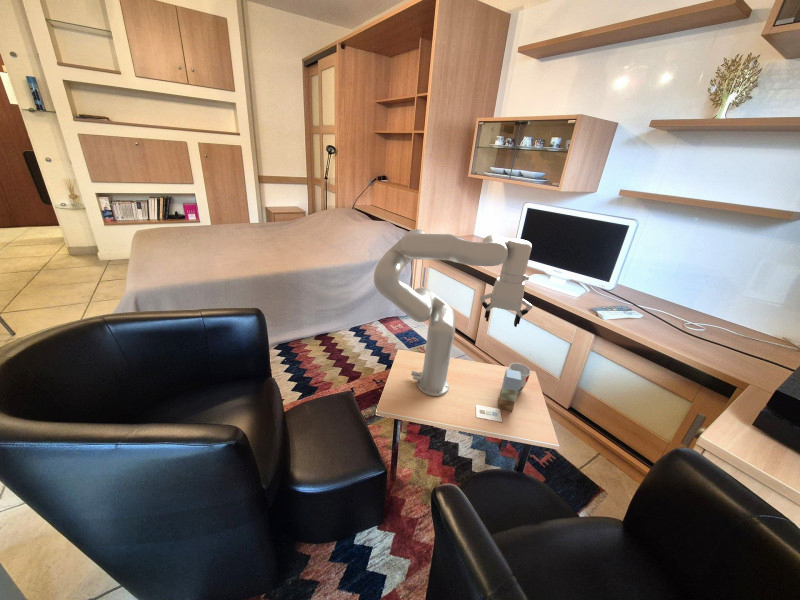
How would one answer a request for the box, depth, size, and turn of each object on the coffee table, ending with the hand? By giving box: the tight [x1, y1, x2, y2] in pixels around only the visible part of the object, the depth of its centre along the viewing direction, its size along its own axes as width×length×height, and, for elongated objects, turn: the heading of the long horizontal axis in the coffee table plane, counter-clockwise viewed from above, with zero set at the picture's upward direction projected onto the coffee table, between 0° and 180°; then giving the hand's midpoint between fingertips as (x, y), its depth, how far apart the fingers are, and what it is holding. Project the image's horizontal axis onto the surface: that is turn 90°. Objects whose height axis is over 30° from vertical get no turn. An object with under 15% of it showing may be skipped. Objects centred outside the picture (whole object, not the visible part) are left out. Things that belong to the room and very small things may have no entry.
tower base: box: [497, 383, 519, 413], centre depth 122 cm, size 5×5×10 cm
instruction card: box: [475, 404, 503, 423], centre depth 120 cm, size 9×6×1 cm
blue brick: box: [502, 368, 521, 391], centre depth 119 cm, size 5×5×5 cm
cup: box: [508, 362, 532, 394], centre depth 132 cm, size 8×8×10 cm
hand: (500, 322), depth 116 cm, fingers open, 9 cm apart
